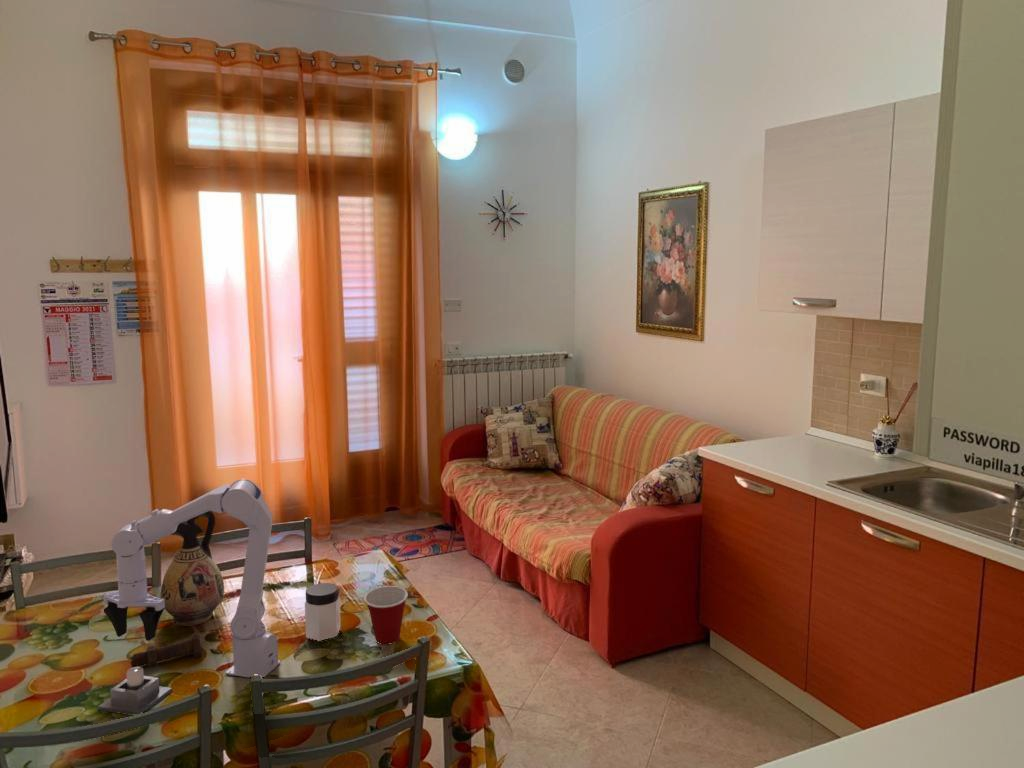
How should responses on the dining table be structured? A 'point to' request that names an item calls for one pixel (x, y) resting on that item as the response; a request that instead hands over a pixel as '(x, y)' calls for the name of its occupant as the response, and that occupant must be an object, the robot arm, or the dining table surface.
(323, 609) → the jar
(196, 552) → the ceramic jug
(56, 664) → the dining table surface
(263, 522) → the robot arm
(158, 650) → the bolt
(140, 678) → the pale grey cylinder
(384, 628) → the plastic cup
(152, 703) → the square socket base plate
